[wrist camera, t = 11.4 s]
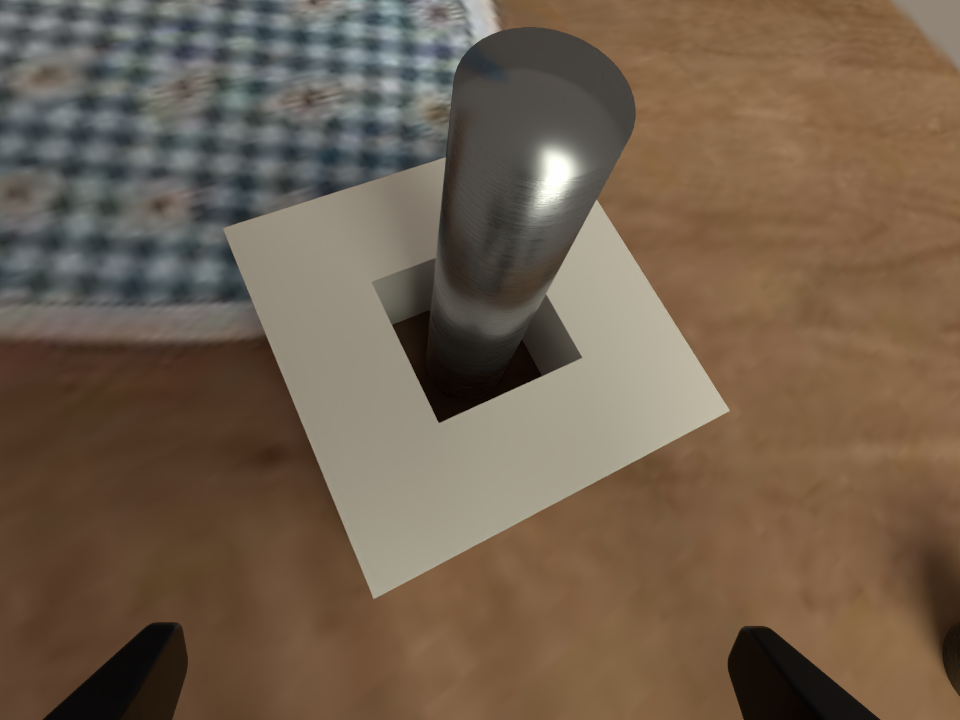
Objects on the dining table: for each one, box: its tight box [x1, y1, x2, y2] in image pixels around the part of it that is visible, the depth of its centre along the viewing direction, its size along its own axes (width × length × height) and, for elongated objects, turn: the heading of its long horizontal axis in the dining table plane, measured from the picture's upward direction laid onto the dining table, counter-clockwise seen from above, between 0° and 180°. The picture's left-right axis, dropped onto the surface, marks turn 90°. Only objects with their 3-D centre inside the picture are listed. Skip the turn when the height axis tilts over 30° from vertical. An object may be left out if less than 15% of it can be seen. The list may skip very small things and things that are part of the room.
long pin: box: [426, 27, 635, 400], centre depth 15 cm, size 3×3×13 cm
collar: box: [223, 157, 730, 599], centre depth 19 cm, size 12×12×4 cm
